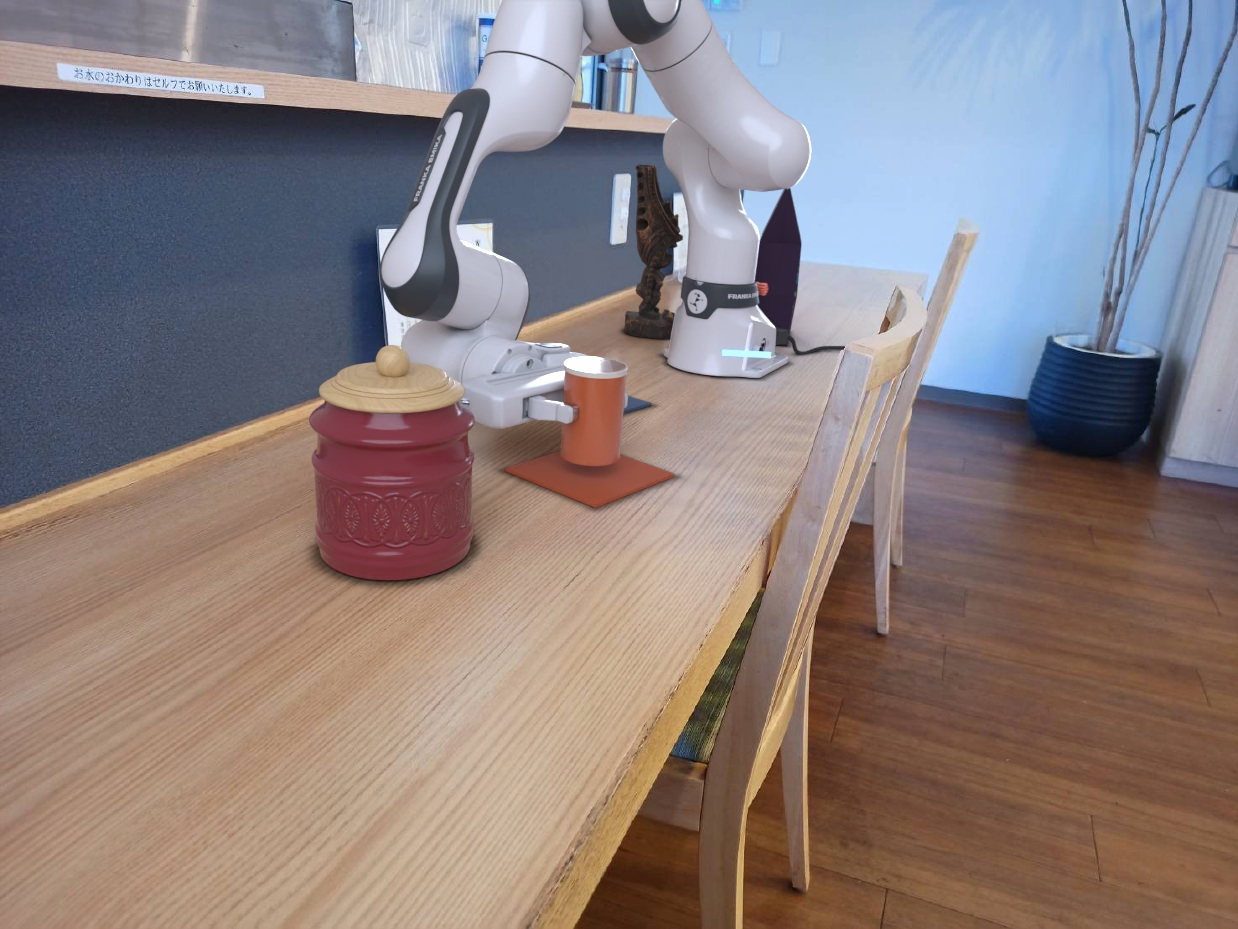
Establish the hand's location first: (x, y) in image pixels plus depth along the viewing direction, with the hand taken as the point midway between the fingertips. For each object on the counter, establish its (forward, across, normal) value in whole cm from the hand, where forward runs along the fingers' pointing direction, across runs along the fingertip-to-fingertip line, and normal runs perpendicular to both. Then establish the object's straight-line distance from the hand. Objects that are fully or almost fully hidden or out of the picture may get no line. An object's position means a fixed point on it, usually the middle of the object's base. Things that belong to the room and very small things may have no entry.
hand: (600, 408), depth 92 cm
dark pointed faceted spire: (-28, +82, +8) cm, 87 cm away
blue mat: (-19, +20, +8) cm, 29 cm away
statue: (-43, +64, +8) cm, 78 cm away
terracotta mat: (-1, 0, +8) cm, 8 cm away
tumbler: (-1, 0, +6) cm, 6 cm away
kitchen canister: (0, -26, +8) cm, 27 cm away
